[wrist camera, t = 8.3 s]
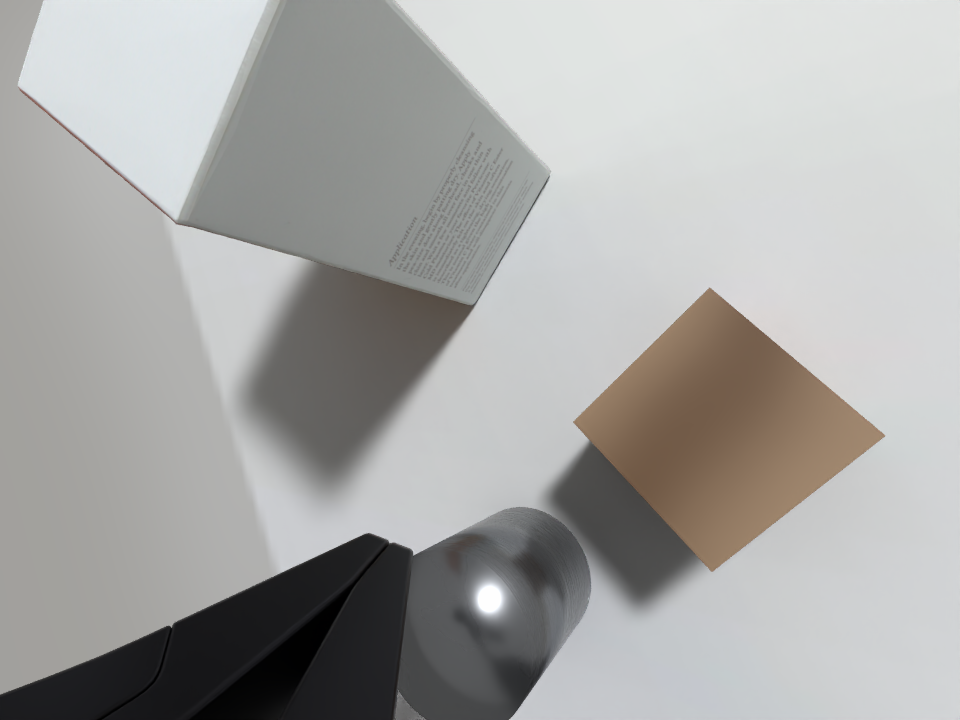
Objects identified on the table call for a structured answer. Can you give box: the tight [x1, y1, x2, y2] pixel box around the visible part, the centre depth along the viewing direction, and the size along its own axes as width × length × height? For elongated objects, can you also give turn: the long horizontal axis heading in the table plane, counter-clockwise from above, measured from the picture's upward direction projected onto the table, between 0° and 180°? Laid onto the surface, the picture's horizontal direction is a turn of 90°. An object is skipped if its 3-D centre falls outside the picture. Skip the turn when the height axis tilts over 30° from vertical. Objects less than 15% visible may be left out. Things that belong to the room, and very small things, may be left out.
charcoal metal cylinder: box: [398, 507, 591, 720], centre depth 18 cm, size 5×5×6 cm
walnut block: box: [573, 288, 885, 572], centre depth 16 cm, size 5×5×5 cm
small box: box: [18, 0, 551, 305], centre depth 17 cm, size 8×6×13 cm
